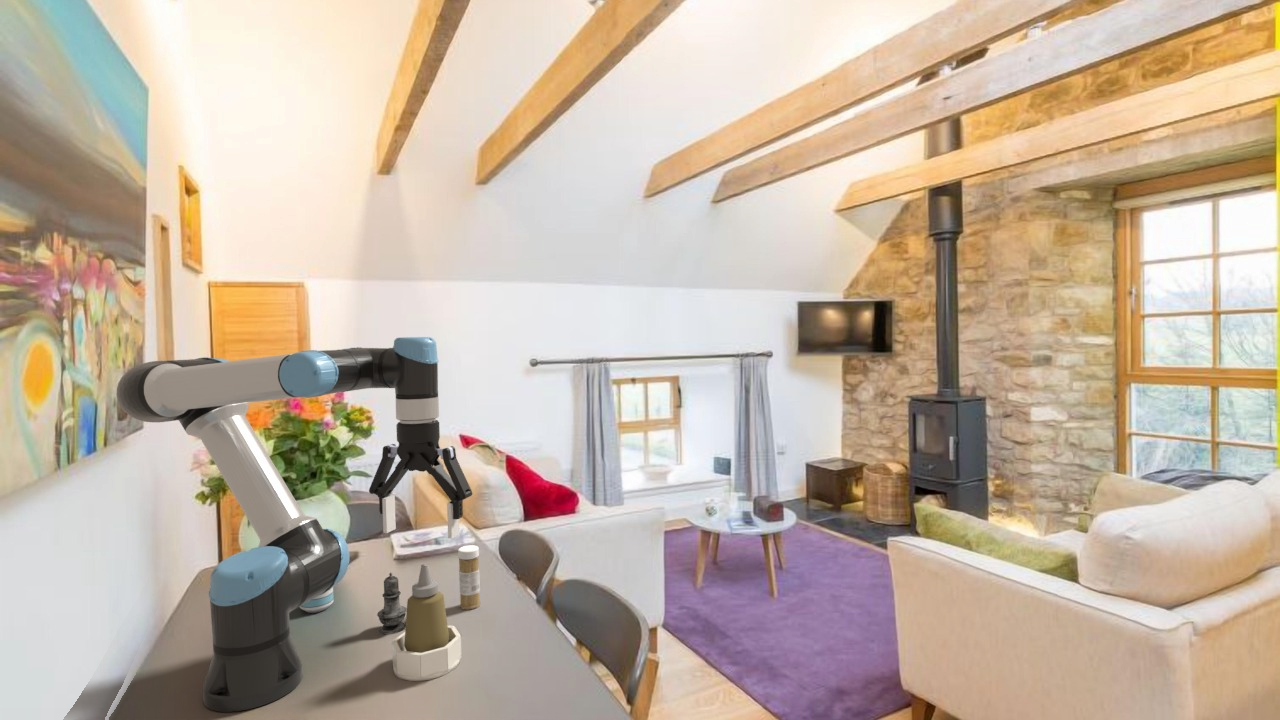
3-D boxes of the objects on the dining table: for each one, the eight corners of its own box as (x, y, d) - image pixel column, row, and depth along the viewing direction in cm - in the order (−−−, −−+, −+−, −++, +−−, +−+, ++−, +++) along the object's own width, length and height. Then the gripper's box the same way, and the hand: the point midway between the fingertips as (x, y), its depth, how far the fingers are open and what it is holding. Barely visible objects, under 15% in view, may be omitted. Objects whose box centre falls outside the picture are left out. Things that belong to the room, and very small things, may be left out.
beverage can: (331, 599, 152) (329, 549, 151) (335, 609, 146) (333, 557, 146) (298, 606, 148) (296, 555, 148) (301, 617, 143) (299, 564, 142)
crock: (400, 688, 114) (399, 661, 113) (388, 658, 124) (387, 634, 124) (468, 668, 120) (467, 643, 119) (451, 642, 130) (450, 618, 130)
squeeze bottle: (396, 661, 121) (393, 566, 120) (434, 644, 127) (431, 554, 127) (420, 675, 116) (417, 576, 115) (458, 657, 122) (455, 563, 121)
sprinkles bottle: (475, 600, 150) (473, 543, 150) (484, 606, 147) (482, 548, 146) (456, 605, 147) (454, 547, 147) (464, 612, 144) (463, 552, 143)
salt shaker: (397, 635, 133) (395, 578, 133) (371, 633, 134) (369, 576, 134) (413, 623, 139) (411, 568, 138) (388, 621, 140) (386, 566, 140)
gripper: (488, 419, 120) (491, 531, 121) (373, 416, 126) (376, 523, 128) (468, 425, 113) (471, 544, 114) (346, 421, 119) (350, 534, 120)
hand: (421, 533), depth 121 cm, fingers open, 13 cm apart
